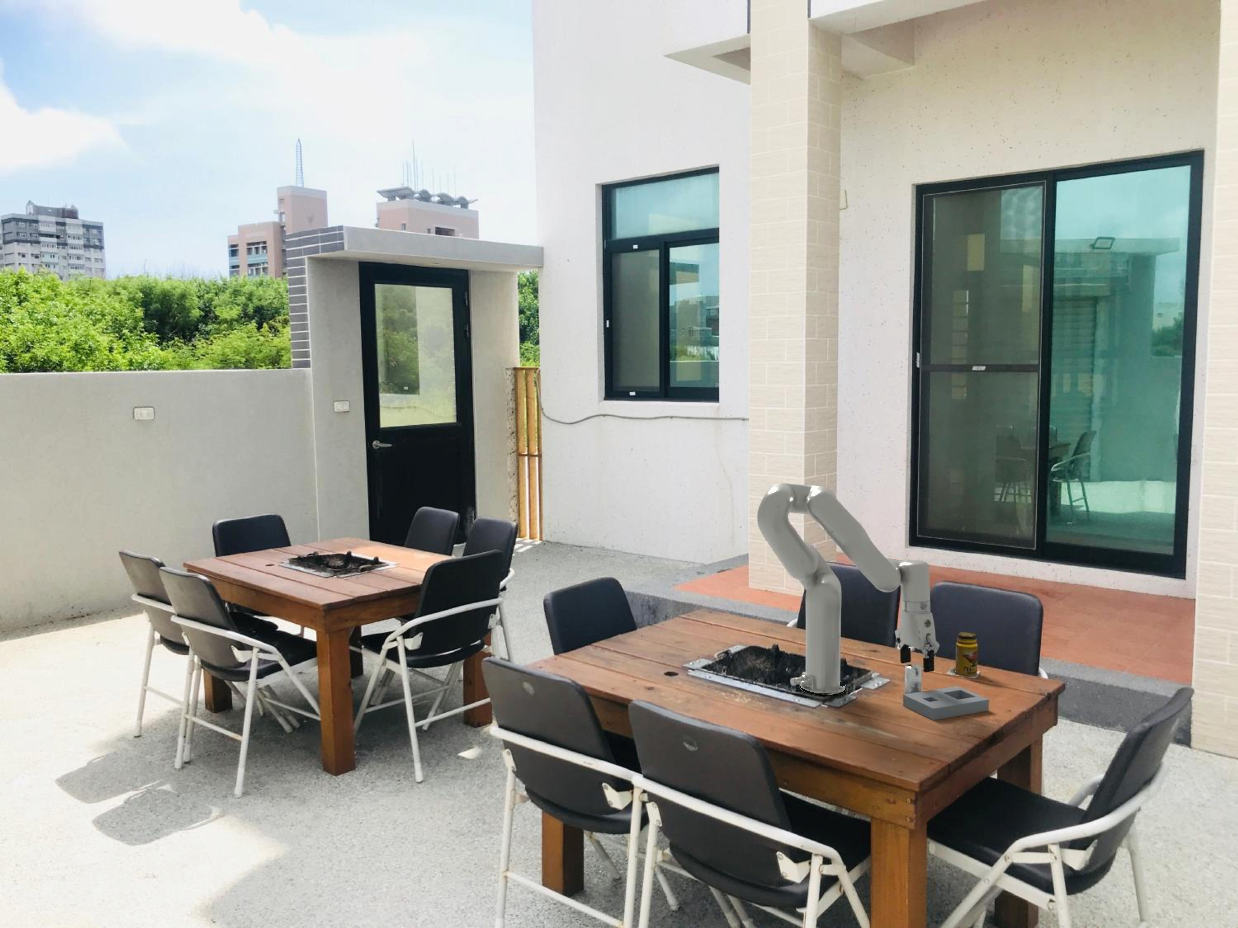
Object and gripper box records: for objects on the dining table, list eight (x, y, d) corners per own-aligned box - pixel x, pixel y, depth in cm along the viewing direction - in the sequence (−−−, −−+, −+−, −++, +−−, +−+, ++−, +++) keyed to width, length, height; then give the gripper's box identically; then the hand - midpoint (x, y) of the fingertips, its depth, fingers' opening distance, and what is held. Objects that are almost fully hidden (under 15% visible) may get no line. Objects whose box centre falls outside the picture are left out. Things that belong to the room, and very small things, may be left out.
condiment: (976, 678, 281) (977, 638, 280) (945, 674, 285) (946, 634, 284) (980, 671, 287) (981, 632, 286) (950, 667, 291) (951, 628, 290)
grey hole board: (933, 719, 248) (933, 708, 247) (903, 705, 259) (903, 694, 258) (988, 710, 254) (989, 699, 254) (957, 696, 265) (957, 685, 265)
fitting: (911, 698, 264) (912, 669, 264) (901, 693, 268) (901, 665, 268) (924, 696, 266) (925, 667, 265) (914, 691, 270) (914, 663, 269)
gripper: (948, 610, 258) (949, 673, 260) (906, 598, 274) (908, 657, 276) (925, 613, 255) (926, 677, 257) (884, 601, 271) (886, 661, 273)
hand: (917, 666), depth 266 cm, fingers open, 9 cm apart
